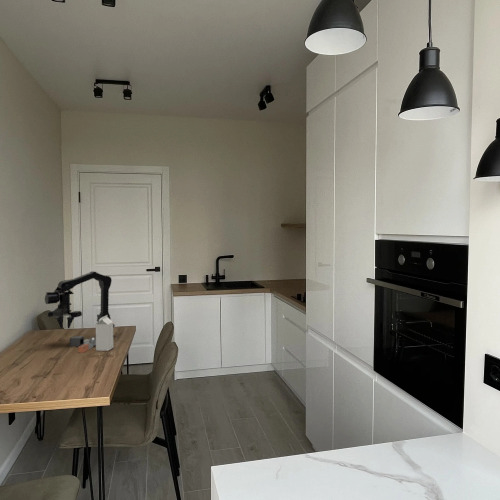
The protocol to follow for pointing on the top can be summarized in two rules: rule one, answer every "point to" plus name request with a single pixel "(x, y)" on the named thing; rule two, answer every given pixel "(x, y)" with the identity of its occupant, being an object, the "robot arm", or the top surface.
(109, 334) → the milk carton
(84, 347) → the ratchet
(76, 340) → the dark-topped grey cube
